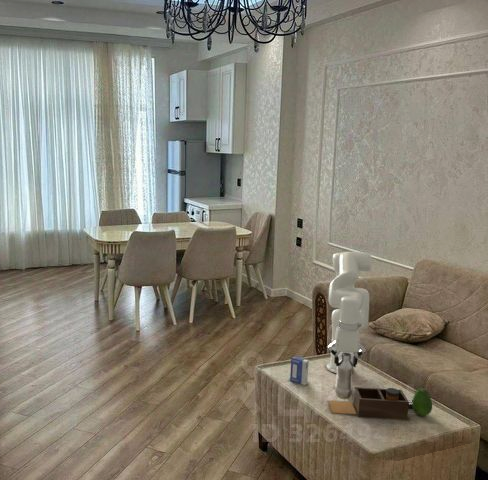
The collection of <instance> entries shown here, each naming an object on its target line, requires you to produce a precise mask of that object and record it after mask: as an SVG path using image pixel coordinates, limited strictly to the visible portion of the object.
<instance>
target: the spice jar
mask: <svg viewBox="0 0 488 480" xmlns="http://www.w3.org/2000/svg"><path fill="white" fill-rule="evenodd" d="M385 389H386V400H398V399H399V390H400V389H397V388H394V387H388V388H385Z"/></svg>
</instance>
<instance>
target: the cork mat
mask: <svg viewBox="0 0 488 480" xmlns="http://www.w3.org/2000/svg"><path fill="white" fill-rule="evenodd" d="M328 403H329V407H330V410H331V413H332V414H337V415H340V414H341V415H357V412H356V409H355V407H354V404H353V401H339V400H338V401H336V400H328Z"/></svg>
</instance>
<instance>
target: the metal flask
mask: <svg viewBox="0 0 488 480" xmlns="http://www.w3.org/2000/svg"><path fill="white" fill-rule="evenodd" d="M341 358H342V359H341V360H340V361H339V364H338V383H337V387H335V395H336V397H337V398H339V399H341V400H349V399H350V398H351V397H352V393H353V392H352V382H351V376H352V377H353V371H354V366H353V364H352V362H351V360H350V359H351V354H350V353H342V357H341Z"/></svg>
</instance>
